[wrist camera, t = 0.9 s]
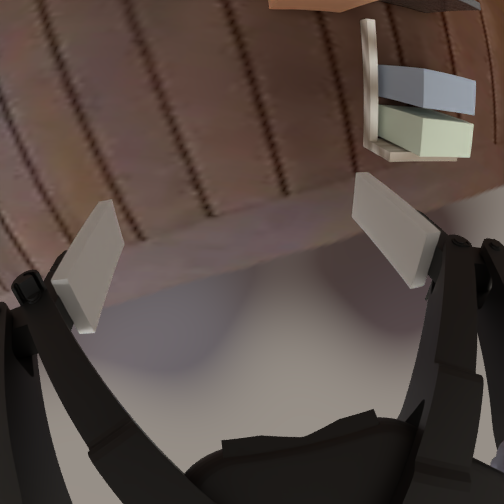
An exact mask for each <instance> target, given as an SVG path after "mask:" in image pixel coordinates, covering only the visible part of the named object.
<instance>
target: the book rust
mask: <svg viewBox="0 0 504 504" xmlns="http://www.w3.org/2000/svg"><path fill="white" fill-rule="evenodd" d="M374 1H378V0H268V2H269V9H295V10H315V11H328V12H338V13H341V12H344V11H347V10H349V9H352V8H355V7H358V6H361V5H364V4H368V3H371V2H374Z"/></svg>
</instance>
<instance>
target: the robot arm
mask: <svg viewBox="0 0 504 504" xmlns="http://www.w3.org/2000/svg"><path fill="white" fill-rule="evenodd" d="M352 218H353V219H354V220H355V221H356V222H357V223H358V225H359V226H360V227H361V228H362V229H363V230H364V232H365V233H366V234H367V235H368V236H369V237H370V239H371V240H372V241H373V242H374V243H375V245H376V246H377V247H378V248H379V249H380V251H381V252H382V253H383V254H384V256H385V257H386V258H387V259H388V260H389V262H390V263H391V264H392V266H393V267H394V268H395V269H396V270H397V272H398V273H399V274H400V276H401V277H402V278H403V280H404V281H405V282H406V283H407V285H408V286H409V287H410V289H412V288H417V287H421V286H424V284H425V281H426V278H427V275H429V276H430V278H431V279H432V282H431V285H430V288H429V290H428V293H427V295H426V298H425V300H427V299H428V302H427V308H426V314H425V320H424V326H423V330H422V335H421V340H420V344H419V349H418V353H417V358H416V362H415V366H414V369H413V373H412V378H411V381H410V385H409V388H408V391H407V395H406V399H405V401H404V404H403V408H402V410H401V413H400V415H399V416H398V418H397V419H392V418H381V417H378V418H377V416H376V414H375V411H374V409H372V410H369V411H366V412H363V413H360V414H356V415H352V416H349V417H346V418H342V419H339V420H337V421H335V422H333V423H331V424H329V425H328V426H326V427H324V428H322V429H320V430H318V431H316V432H314V433H312V434H310V435H308V436H305V437H277V436H255V437H247V438H239V439H230V440H222V449H221V450H219V451H216V452H214V453H211V454H209V455H207V456H205V457H204V458H202V459H200V460H199V461H198V462H196V463H195V464H194V465H192V466H191V467H190V468H189V469H188V470H187V471H186V472H185V474H184V473H183V472H182V471H181V470H180V469H179V468H178V467H177V466H176V465H175V464H174V463H173V462H172V461H171V460H170V459H168V457H166V455H165V454H164V453H163V452H162V451H161V450H160V449H159V448H158V447H157V446H156V445H155V443H154V442H153V441H152V440H151V439H150V438H149V437H148V436H147V435H146V433H145V432H144V431H143V430H142V429H141V428H140V427H139V425H138V424H137V423H136V422H135V421H134V420H133V418H132V417H131V416H130V415H129V413H128V412H127V411H126V410H125V409H124V407H123V406H122V405H121V404H120V402H119V401H118V400H117V398H116V397H115V396H114V395H113V393H112V392H111V390H110V389H109V388H108V387H107V385H106V384H105V382H104V381H103V380H102V378H101V377H100V375H99V374H98V373H97V371H96V370H95V368H94V367H93V365H92V364H91V362H90V361H89V359H88V358H87V356H86V355H85V353H84V352H83V350H82V348H81V347H80V345H79V344H78V342H77V340H76V339H75V337H74V336H73V334H72V332H71V329H72V326H73V324H74V325H75V327H76V329H77V330H78V332H79V334H84V333H95V332H96V328H97V325H98V321H99V318H100V314H101V311H102V308H103V304H104V301H105V298H106V295H107V292H108V289H109V286H110V283H111V280H112V277H113V274H114V271H115V268H116V265H117V263H118V260H119V257H120V254H121V252H122V249H123V246H124V241H123V238H122V234H121V231H120V227H119V224H118V220H117V217H116V213H115V209H114V206H113V202H112V199H111V200H106V201H100V202H99V203H98V204H97V205H96V207H95V208H94V210H93V211H92V213H91V214H90V216H89V217H88V219H87V220H86V222H85V223H84V225H83V226H82V228H81V230H80V231H79V233H78V234H77V236H76V238H75V239H74V241H73V242H72V244H71V246H70V247H69V249H68V250H66V251H64V252H63V253H62V254H61V255H60V256H58V257H57V259H56V261H55V262H54V264H53V266H52V267H51V269H50V272H49V273H48V274H47V276H46V278H45V280H44V281H43V280H42V278H41V276H40V274H39V272H38V271H37V270H29V271H26V272H24V273H22V274H21V275H19V276H18V277H17V278H16V279H15V280H14V282H13V283H12V286H11V289H12V291H13V293H14V295H15V297H16V298H17V300H18V302H19V303H20V305H21V306H20V307H17V308H15V309H12V310H10V309H9V308H8V306H7V305H6V303H4V302H0V504H72V501H71V499H70V496H69V493H68V491H67V488H66V485H65V482H64V479H63V476H62V473H61V470H60V467H59V464H58V460H57V457H56V453H55V450H54V446H53V443H52V438H51V435H50V430H49V426H48V421H47V417H46V412H45V407H44V401H43V395H42V390H41V383H40V376H39V369H38V359H37V354H38V353H39V356H40V358H41V360H42V362H43V365H44V367H45V369H46V371H47V374H48V375H49V378H50V380H51V382H52V384H53V386H54V388H55V390H56V392H57V394H58V396H59V398H60V400H61V402H62V404H63V405H64V407H65V409H66V411H67V413H68V415H69V416H70V418H71V420H72V422H73V423H74V425H75V427H76V428H77V430H78V432H79V433H80V435H81V436H82V438H83V440H84V441H85V443H86V444H87V446H88V447H89V450H90V451H89V452H88V455H89V458H90V459H91V461H92V463H93V464H94V466H95V467H96V469H97V470H98V472H99V473H100V474H101V476H102V477H103V478H104V480H105V481H106V483H107V484H108V485H109V486H110V488H111V489H112V490H113V492H114V493H115V494H116V495H117V497H118V498H119V499H120V500H121V502H122V503H123V504H504V246H503V245H502V244H501V243H500V242H499V241H497V240H495V239H484V241H483V243H482V246H481V248H476V247H472V245H471V243H470V242H469V241H468V240H466V239H465V238H463V237H461V236H458V235H447V234H446V233H445V232H444V231H443V230H442V229H441V228H440V227H438V226H437V225H436V224H434V222H433V221H432V220H430V219H429V218H428V217H427V216H426V215H425V214H423V213H422V212H420V211H418V210H416V209H414V208H413V207H412V206H411V205H409V204H408V203H407V202H406V201H404V200H403V199H402V198H401V197H399V196H398V195H397V194H396V193H394V192H393V191H392V190H391V189H389V188H388V187H387V186H386V185H384V184H383V183H382V182H380V181H379V180H378V179H376V178H375V177H374V176H372V175H371V174H370V173H368V172H360V173H356V180H355V190H354V200H353V210H352ZM477 333H478V337H479V341H480V346H481V350H482V355H483V360H484V366H485V371H486V377H487V383H488V390H489V397H490V406H491V415H492V423H493V432H494V437H495V443H496V447H497V454H496V457H495V458H493V459H492V461H491V465H490V466H489V465H487V464H485V463H483V462H481V461H479V460H477V459H475V458H473V454H474V448H475V443H476V438H477V433H478V427H479V420H480V413H481V405H482V396H483V377H482V376H481V375H478V374H476V356H477Z"/></svg>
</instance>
